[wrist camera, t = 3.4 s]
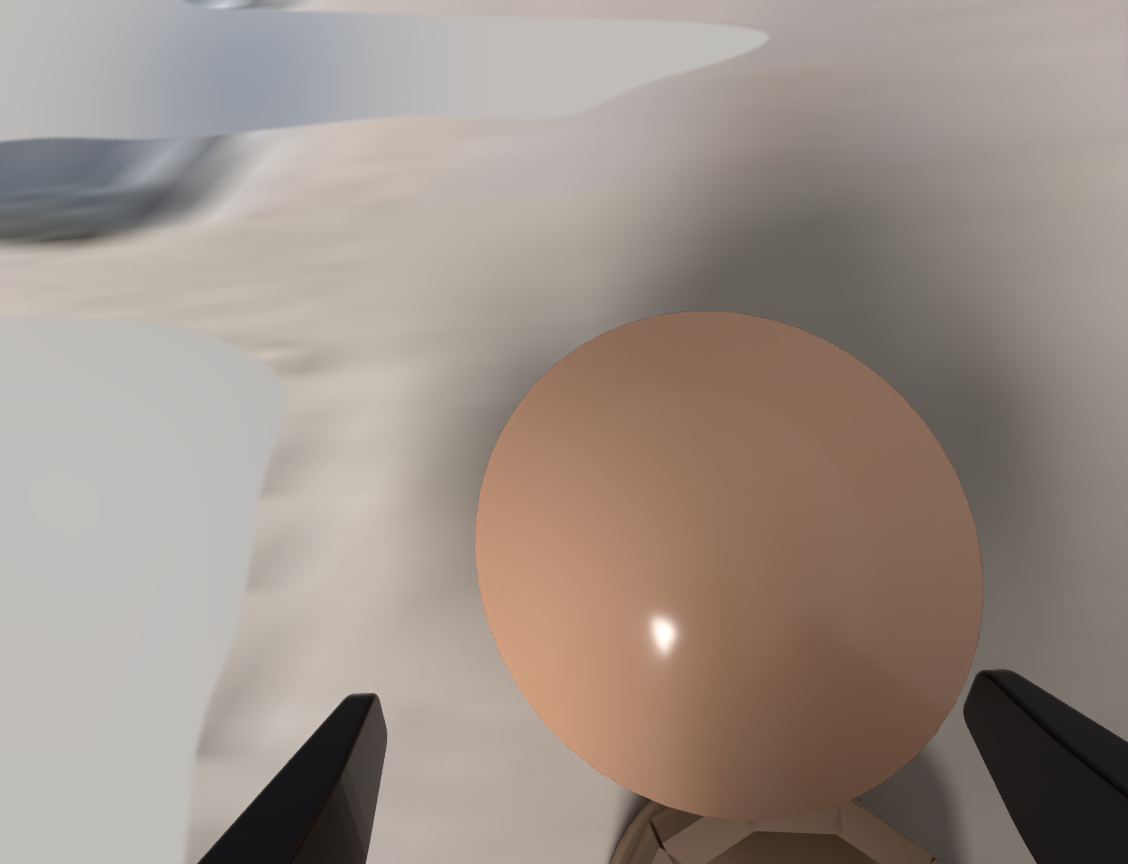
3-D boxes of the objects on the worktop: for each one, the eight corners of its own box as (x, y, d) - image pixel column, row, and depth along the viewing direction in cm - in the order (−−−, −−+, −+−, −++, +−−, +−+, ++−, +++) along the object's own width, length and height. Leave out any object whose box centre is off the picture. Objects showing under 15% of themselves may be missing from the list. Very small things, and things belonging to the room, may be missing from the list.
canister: (587, 720, 17) (636, 948, 5) (512, 567, 18) (397, 432, 6) (729, 635, 18) (1096, 637, 5) (645, 495, 19) (784, 246, 7)
